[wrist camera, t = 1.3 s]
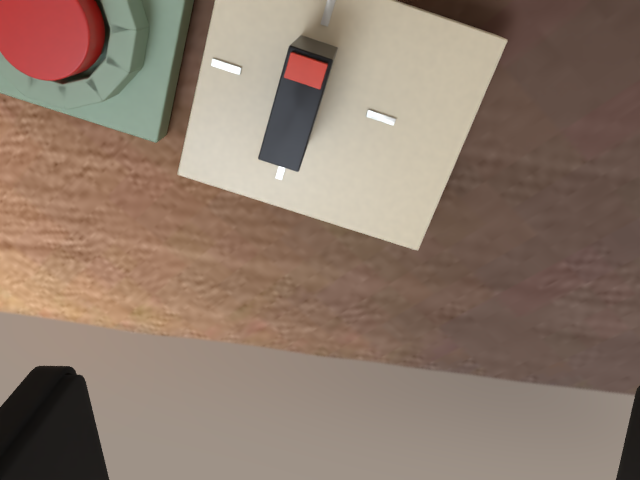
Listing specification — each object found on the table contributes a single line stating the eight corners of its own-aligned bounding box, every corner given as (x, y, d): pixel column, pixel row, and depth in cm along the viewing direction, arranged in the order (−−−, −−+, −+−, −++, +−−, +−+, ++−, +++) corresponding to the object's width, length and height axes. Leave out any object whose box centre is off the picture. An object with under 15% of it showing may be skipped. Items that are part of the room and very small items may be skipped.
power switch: (-17, 76, 31) (-61, 88, 28) (-5, -113, 27) (-54, -125, 24) (167, 135, 32) (144, 153, 28) (203, -42, 28) (182, -44, 25)
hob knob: (307, 145, 29) (297, 174, 24) (272, 133, 29) (256, 161, 24) (338, 47, 27) (333, 60, 23) (300, 34, 27) (288, 45, 22)
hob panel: (190, 161, 32) (175, 176, 30) (238, -54, 28) (226, -57, 25) (414, 232, 33) (418, 252, 31) (497, 34, 28) (509, 40, 26)
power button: (6, 58, 27) (-16, 62, 26) (14, -42, 26) (-9, -43, 24) (98, 87, 28) (82, 94, 26) (112, -10, 26) (96, -9, 24)
